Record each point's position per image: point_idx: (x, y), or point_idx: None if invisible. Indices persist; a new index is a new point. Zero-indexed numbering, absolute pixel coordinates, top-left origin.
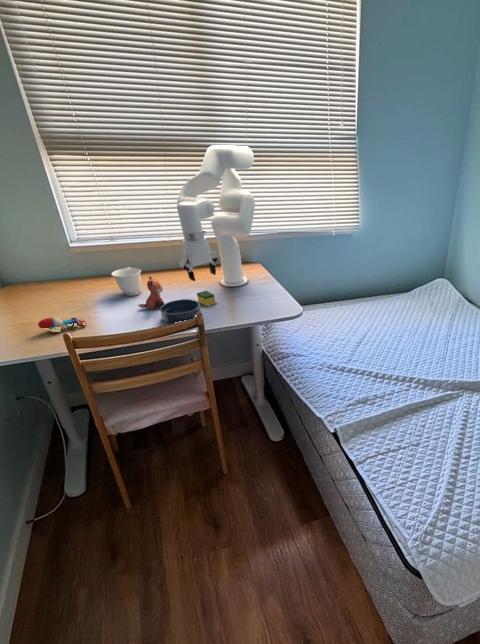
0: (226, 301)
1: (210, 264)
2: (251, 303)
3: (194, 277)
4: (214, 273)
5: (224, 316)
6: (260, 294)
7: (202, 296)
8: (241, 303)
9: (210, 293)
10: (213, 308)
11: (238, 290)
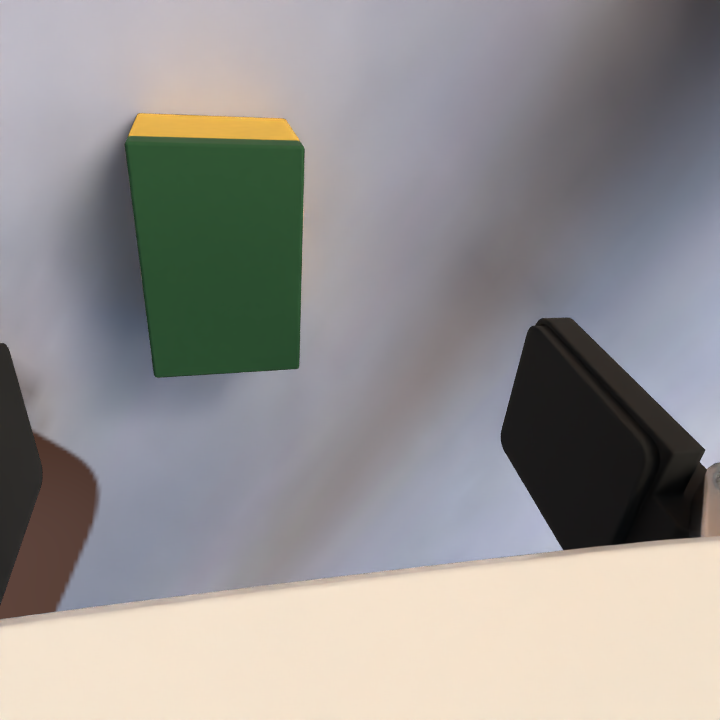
0: (391, 338)
1: (647, 523)
2: (491, 494)
3: (20, 533)
4: (516, 458)
5: (186, 582)
6: (675, 389)
7: (147, 320)
8: (445, 454)
9: (286, 306)
10: (193, 408)
11: (685, 153)
